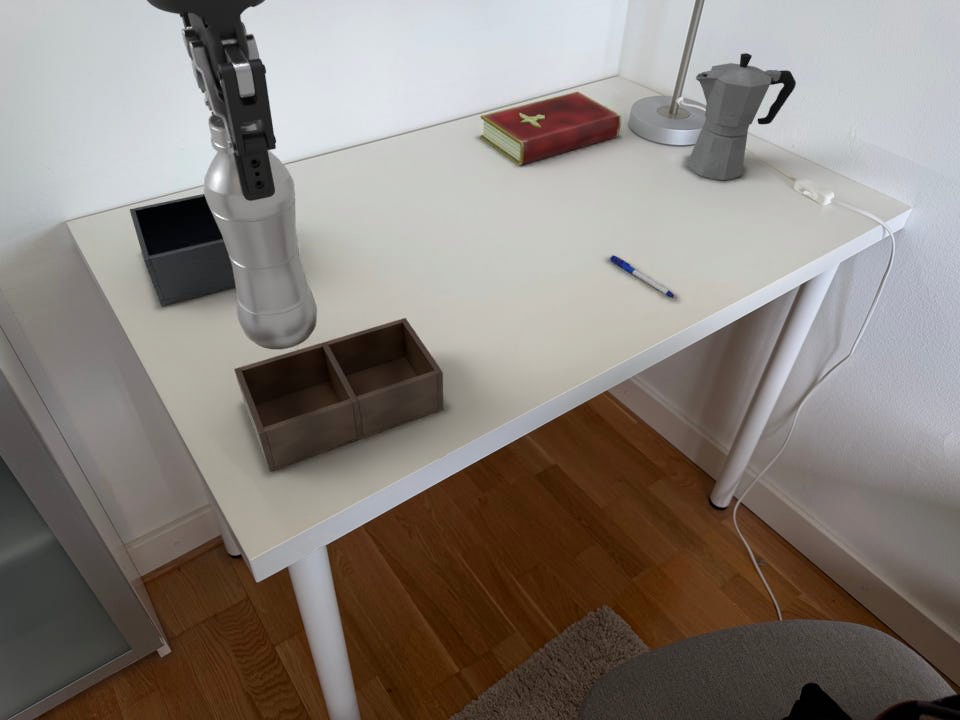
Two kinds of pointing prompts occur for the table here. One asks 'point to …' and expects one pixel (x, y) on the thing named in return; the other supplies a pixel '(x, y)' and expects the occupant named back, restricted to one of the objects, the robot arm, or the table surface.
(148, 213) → the dark grey open box
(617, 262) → the ballpoint pen
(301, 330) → the silver metal bottle
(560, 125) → the hardcover book
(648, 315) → the table surface
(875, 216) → the table surface
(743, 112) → the coffeepot
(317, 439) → the divided box
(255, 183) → the robot arm
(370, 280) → the table surface
